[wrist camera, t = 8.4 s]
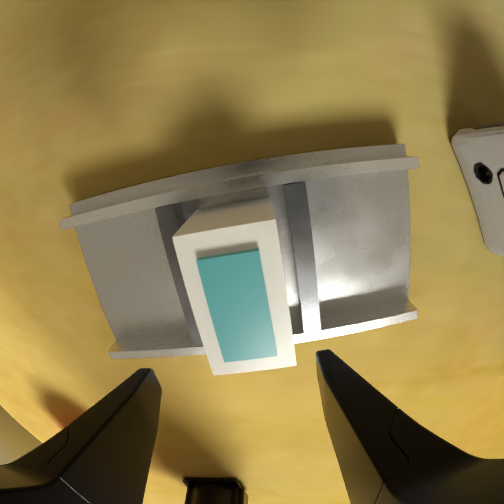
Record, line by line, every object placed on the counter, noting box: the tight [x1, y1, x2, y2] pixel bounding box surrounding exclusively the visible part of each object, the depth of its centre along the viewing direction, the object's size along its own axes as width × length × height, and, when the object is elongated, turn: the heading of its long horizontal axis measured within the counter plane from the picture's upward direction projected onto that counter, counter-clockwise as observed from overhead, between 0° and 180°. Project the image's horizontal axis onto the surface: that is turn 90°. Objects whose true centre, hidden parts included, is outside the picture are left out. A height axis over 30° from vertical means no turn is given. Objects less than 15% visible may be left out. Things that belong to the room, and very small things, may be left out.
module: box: [172, 197, 297, 375], centre depth 15 cm, size 4×7×5 cm, turn 10°
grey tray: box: [59, 144, 420, 359], centre depth 17 cm, size 20×11×2 cm, turn 100°
